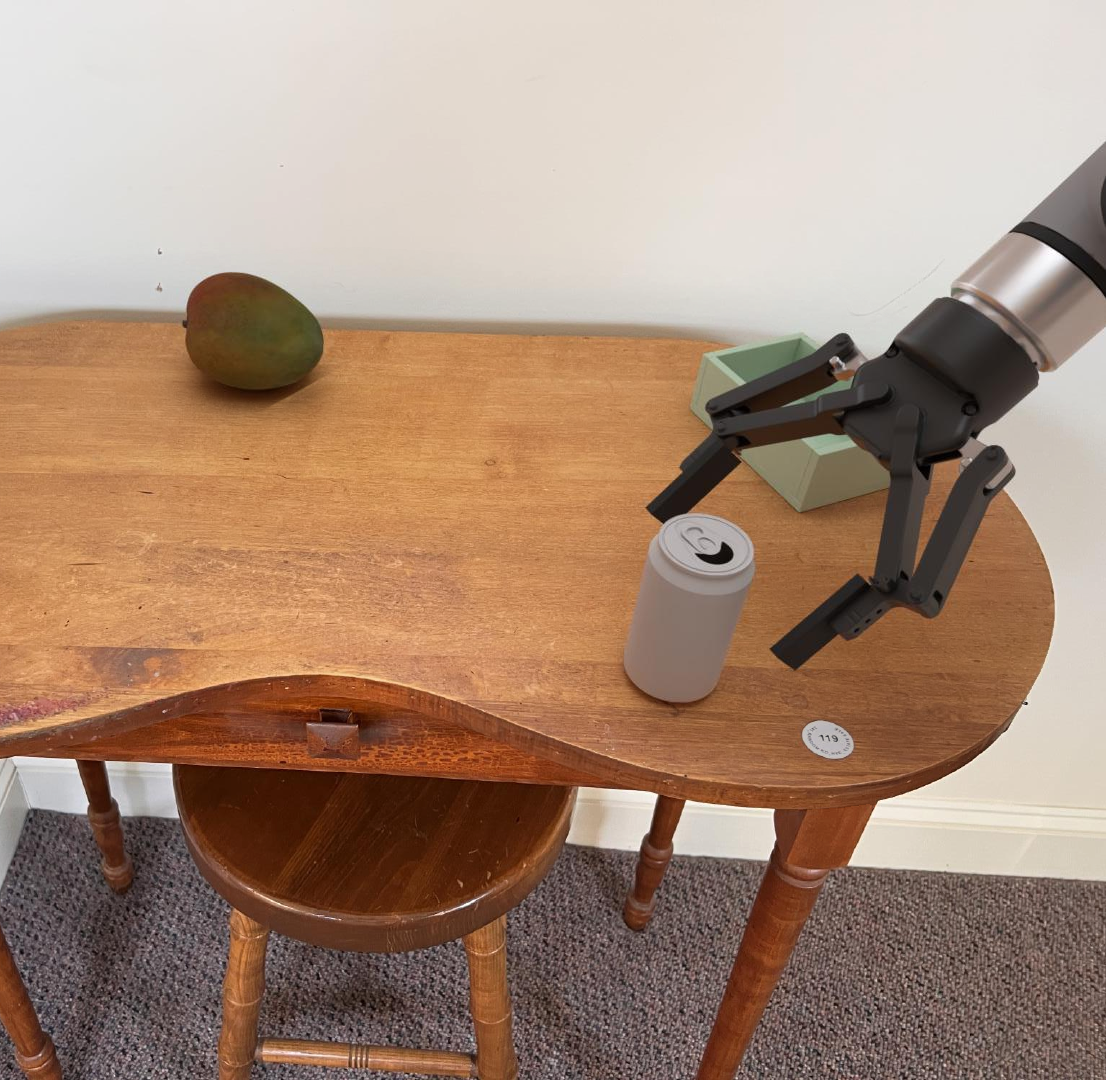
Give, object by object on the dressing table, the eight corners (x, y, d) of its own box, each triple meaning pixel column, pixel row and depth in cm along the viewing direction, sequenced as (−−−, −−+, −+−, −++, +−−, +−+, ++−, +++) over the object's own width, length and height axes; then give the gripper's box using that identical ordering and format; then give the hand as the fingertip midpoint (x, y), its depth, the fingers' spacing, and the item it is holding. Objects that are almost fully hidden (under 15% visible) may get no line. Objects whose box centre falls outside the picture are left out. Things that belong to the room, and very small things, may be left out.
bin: (903, 484, 86) (928, 427, 82) (798, 513, 83) (820, 455, 79) (785, 386, 97) (802, 331, 93) (689, 408, 94) (702, 353, 90)
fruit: (191, 347, 100) (178, 252, 94) (320, 340, 102) (316, 246, 95) (188, 416, 92) (174, 316, 85) (328, 408, 93) (325, 309, 86)
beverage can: (662, 723, 67) (702, 592, 59) (601, 658, 71) (631, 527, 63) (736, 687, 69) (784, 556, 61) (673, 626, 73) (710, 496, 65)
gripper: (1196, 488, 53) (869, 747, 59) (868, 272, 71) (640, 490, 77) (1175, 426, 48) (821, 716, 54) (827, 210, 66) (587, 448, 72)
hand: (714, 584), depth 66 cm, fingers open, 13 cm apart
